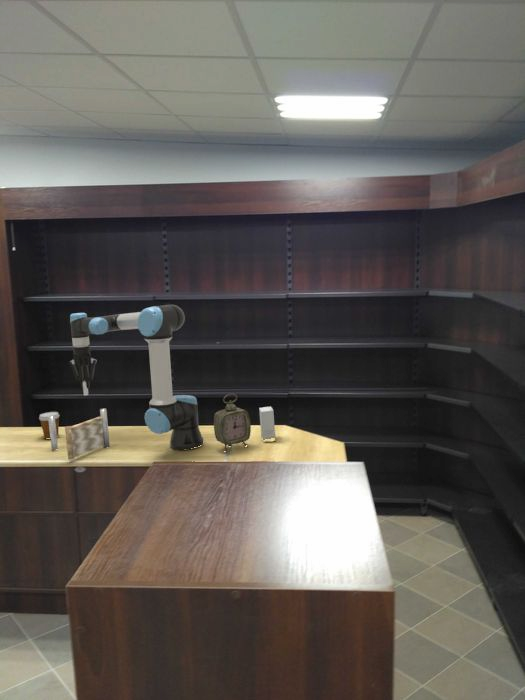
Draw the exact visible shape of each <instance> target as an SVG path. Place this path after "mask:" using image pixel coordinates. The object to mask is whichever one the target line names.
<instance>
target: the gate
mask: <svg viewBox="0 0 525 700" xmlns="http://www.w3.org/2000/svg"><path fill="white" fill-rule="evenodd" d="M64 431H65V432H64V433H65V441H66V450H67V460H73V459H75V458H77V457H79V456H83V455H84V454H86V453H89V452H92V451H94V450H97V449H99V448H101V447H103V446H104V439H103V429H102V417H101V416H97V417H94V418H91V419H89V420H86V421H83V422H80V423H78V424H74V425H68V426H65V427H64Z"/></svg>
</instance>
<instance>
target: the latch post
mask: <svg viewBox="0 0 525 700" xmlns="http://www.w3.org/2000/svg"><path fill="white" fill-rule="evenodd" d="M48 421H49V430H50V439H51V440H50V447H51V451H52V450H56V449H58V450H59V445H58V444H59V443H58V438H57V434H56V424H55V416H48Z"/></svg>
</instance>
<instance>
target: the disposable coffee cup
mask: <svg viewBox="0 0 525 700" xmlns="http://www.w3.org/2000/svg"><path fill="white" fill-rule="evenodd" d="M48 416H55V424H56V434H57V436H58V437H59V422H60V420H59V419H60V414H59V412H58V411H49V412H44V413H40V414H39V417H38V419H39V421H40V425H41V429H42V433H43V436H44V439H45V438H50V430H49V421H48Z"/></svg>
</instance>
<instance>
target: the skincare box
mask: <svg viewBox="0 0 525 700" xmlns="http://www.w3.org/2000/svg"><path fill="white" fill-rule="evenodd" d="M258 411H259V422H260V425H259V426H260V436H261V437H262V438H263V440H265V439H271V438H275V439H276V427H275V426H276V425H275V415H274V409H273V407H272V406H264V407H259V409H258ZM261 437H260V438H261ZM262 438H261V439H262ZM263 440H262V441H263Z"/></svg>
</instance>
